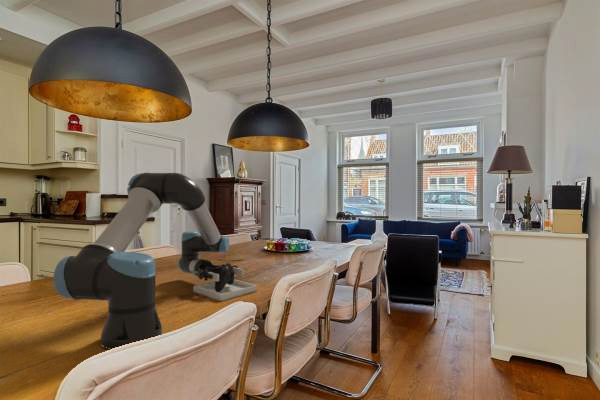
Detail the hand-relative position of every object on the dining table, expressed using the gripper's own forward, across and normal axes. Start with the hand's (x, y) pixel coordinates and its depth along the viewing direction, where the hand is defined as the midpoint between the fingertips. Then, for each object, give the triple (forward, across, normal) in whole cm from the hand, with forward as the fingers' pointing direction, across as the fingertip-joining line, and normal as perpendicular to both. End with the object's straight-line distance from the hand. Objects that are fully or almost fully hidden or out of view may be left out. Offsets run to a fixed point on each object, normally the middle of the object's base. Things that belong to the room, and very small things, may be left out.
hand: (231, 275), depth 136 cm
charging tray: (-4, 0, -7) cm, 8 cm away
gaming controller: (-4, 0, -6) cm, 7 cm away
